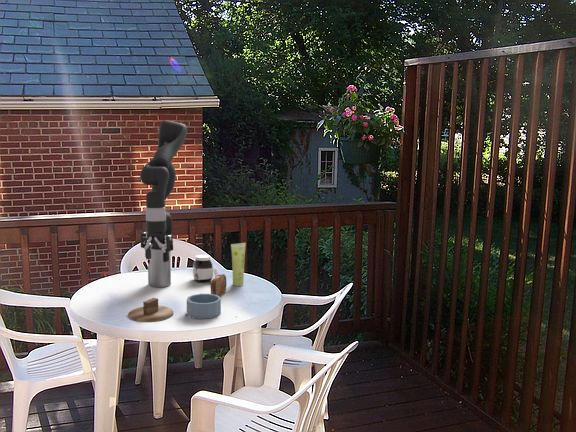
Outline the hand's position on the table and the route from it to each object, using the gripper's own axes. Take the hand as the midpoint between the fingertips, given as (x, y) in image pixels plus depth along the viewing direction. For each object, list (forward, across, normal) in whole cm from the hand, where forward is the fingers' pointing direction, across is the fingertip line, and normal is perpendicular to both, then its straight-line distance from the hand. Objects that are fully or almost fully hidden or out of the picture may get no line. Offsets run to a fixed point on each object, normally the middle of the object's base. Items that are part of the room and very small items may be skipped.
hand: (157, 260), depth 227 cm
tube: (+21, +4, +49) cm, 53 cm away
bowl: (+21, +16, +9) cm, 28 cm away
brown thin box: (+21, +6, +31) cm, 38 cm away
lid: (+21, -1, -3) cm, 21 cm away
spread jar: (+20, -12, +47) cm, 53 cm away
